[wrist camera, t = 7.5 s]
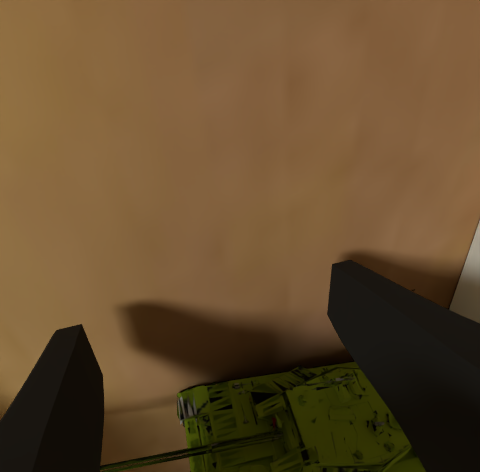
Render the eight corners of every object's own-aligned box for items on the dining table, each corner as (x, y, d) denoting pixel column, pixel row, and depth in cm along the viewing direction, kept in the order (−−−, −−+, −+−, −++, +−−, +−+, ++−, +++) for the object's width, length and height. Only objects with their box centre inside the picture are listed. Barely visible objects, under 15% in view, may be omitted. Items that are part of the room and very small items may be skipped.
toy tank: (476, 521, 15) (718, 430, 9) (-43, 705, 10) (-386, 813, 3) (389, 369, 20) (506, 241, 14) (12, 430, 15) (-83, 261, 8)
